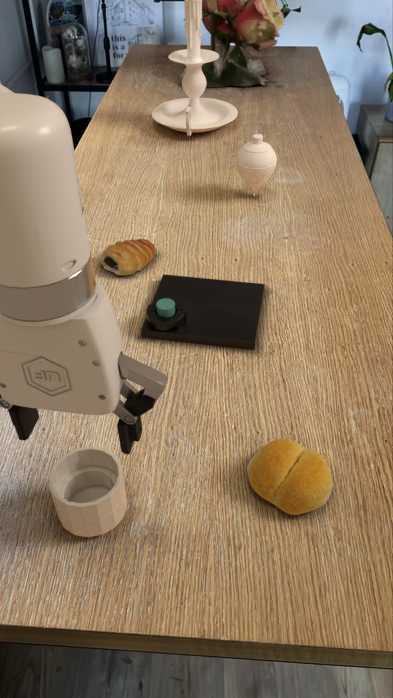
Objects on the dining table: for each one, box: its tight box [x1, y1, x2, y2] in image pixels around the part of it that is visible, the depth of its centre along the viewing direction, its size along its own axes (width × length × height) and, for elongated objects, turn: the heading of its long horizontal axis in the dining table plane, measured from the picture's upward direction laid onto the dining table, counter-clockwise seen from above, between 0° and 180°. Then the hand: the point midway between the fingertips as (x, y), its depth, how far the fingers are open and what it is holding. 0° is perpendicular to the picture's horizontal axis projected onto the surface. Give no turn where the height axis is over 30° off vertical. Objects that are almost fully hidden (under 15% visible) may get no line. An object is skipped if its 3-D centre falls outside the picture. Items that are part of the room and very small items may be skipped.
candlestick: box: [150, 0, 239, 137], centre depth 131 cm, size 21×25×28 cm
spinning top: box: [235, 133, 278, 197], centre depth 110 cm, size 8×8×12 cm
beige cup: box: [48, 445, 128, 538], centre depth 60 cm, size 7×7×6 cm
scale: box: [140, 274, 266, 351], centre depth 86 cm, size 16×14×3 cm
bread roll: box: [246, 438, 334, 516], centre depth 63 cm, size 8×9×4 cm
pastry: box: [99, 238, 156, 277], centre depth 96 cm, size 9×7×4 cm
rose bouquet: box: [175, 0, 285, 88], centre depth 162 cm, size 26×29×30 cm
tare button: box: [156, 298, 175, 318], centre depth 82 cm, size 3×3×2 cm
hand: (79, 435), depth 54 cm, fingers open, 9 cm apart
